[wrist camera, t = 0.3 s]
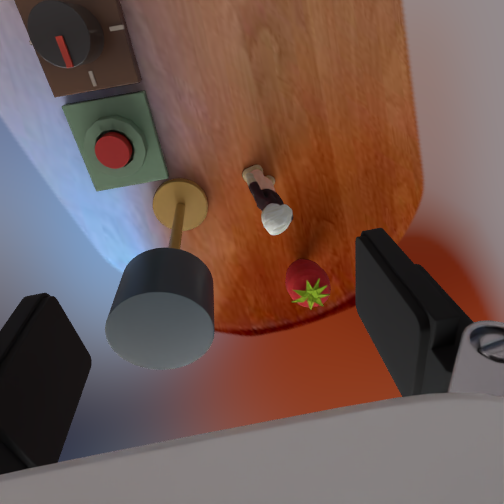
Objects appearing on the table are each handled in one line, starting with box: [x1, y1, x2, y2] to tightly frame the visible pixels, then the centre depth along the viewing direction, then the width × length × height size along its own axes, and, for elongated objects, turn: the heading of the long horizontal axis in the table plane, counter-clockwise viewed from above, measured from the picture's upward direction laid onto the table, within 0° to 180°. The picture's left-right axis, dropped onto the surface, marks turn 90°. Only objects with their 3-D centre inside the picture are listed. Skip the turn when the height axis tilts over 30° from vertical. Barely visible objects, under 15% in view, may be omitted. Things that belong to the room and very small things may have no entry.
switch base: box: [62, 91, 169, 191], centre depth 41 cm, size 10×9×3 cm
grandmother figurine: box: [242, 165, 293, 235], centre depth 41 cm, size 8×4×13 cm, turn 56°
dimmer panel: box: [14, 0, 142, 97], centre depth 35 cm, size 10×9×2 cm
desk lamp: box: [105, 178, 214, 370], centre depth 37 cm, size 8×8×24 cm
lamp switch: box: [95, 132, 132, 169], centre depth 39 cm, size 4×4×2 cm
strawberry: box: [285, 259, 331, 310], centre depth 50 cm, size 6×8×10 cm
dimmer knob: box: [27, 0, 104, 68], centre depth 32 cm, size 5×5×5 cm
